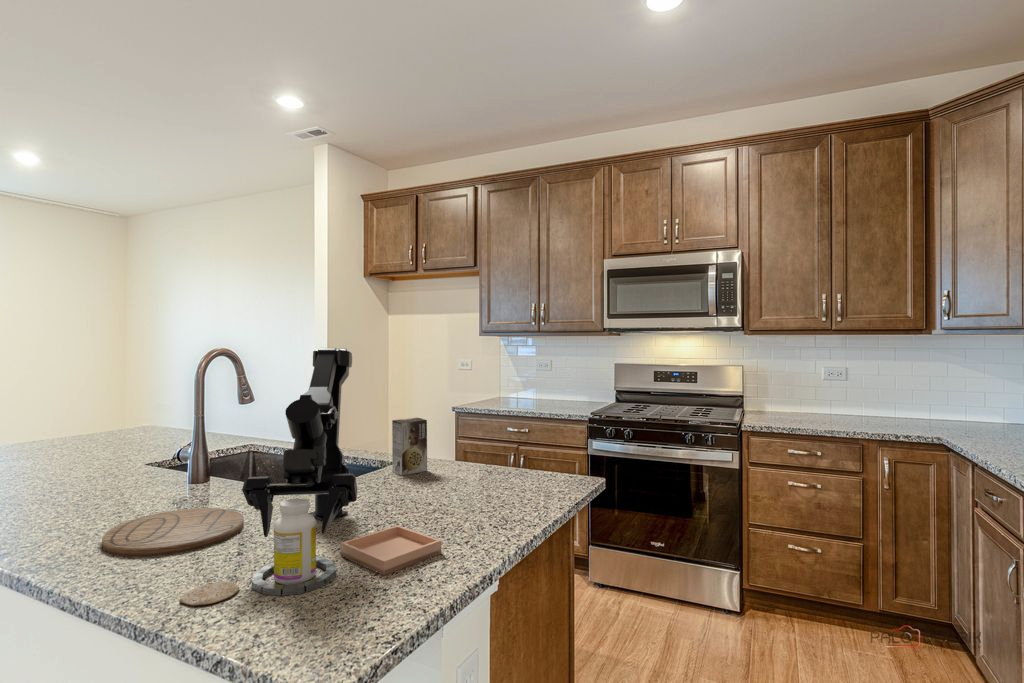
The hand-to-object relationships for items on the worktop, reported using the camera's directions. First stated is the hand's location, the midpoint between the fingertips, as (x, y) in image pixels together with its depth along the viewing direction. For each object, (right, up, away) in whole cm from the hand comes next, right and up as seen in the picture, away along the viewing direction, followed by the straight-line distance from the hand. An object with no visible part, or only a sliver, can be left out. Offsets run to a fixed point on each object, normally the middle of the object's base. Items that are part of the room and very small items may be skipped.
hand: (294, 534), depth 92 cm
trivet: (-33, -8, +22) cm, 41 cm away
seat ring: (0, -7, +1) cm, 8 cm away
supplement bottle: (0, -8, +1) cm, 8 cm away
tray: (+14, -8, +11) cm, 19 cm away
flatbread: (-11, -8, -6) cm, 15 cm away
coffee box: (+5, -8, +78) cm, 78 cm away
